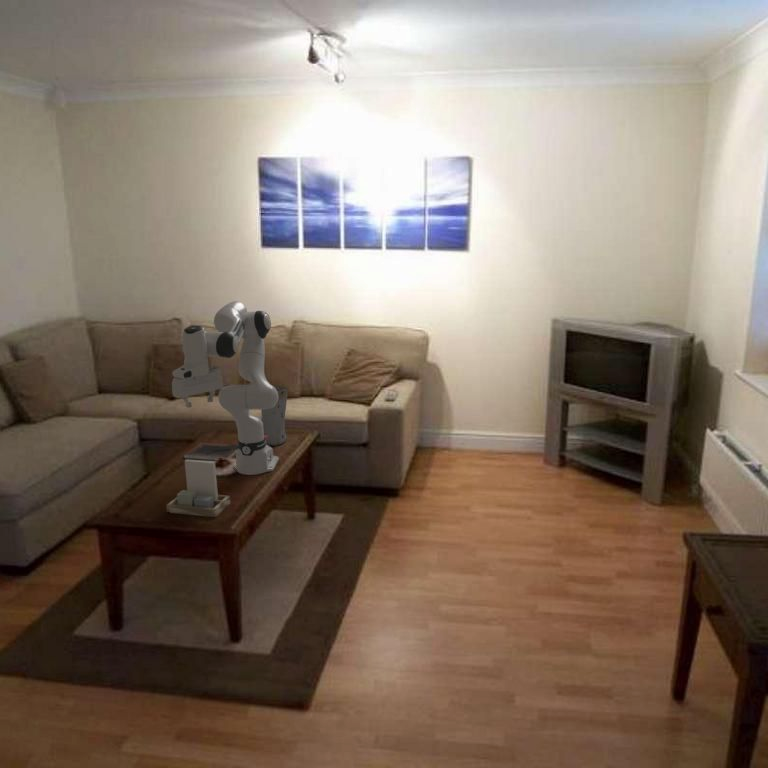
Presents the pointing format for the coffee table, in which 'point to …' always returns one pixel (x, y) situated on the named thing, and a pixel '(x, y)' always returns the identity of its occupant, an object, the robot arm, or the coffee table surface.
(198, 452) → the picture frame
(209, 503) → the slate offcut
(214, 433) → the coffee table surface
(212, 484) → the tall board
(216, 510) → the birch rack
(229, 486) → the coffee table surface
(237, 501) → the coffee table surface
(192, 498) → the sage offcut
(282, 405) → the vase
